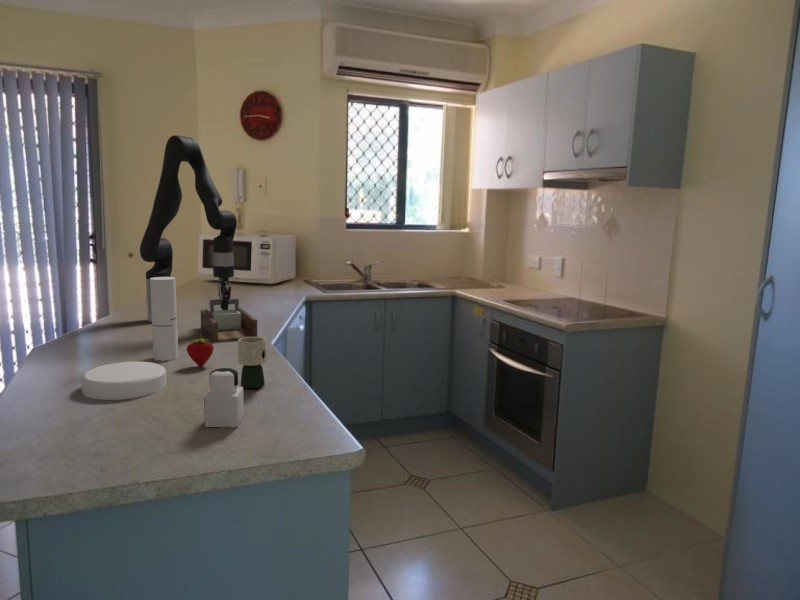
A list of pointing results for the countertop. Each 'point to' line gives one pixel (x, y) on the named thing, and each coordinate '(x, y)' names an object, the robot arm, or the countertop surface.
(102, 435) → the countertop surface
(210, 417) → the medicine bottle
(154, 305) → the cylindrical container
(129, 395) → the container
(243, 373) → the character mug
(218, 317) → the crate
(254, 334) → the bay
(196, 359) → the strawberry
